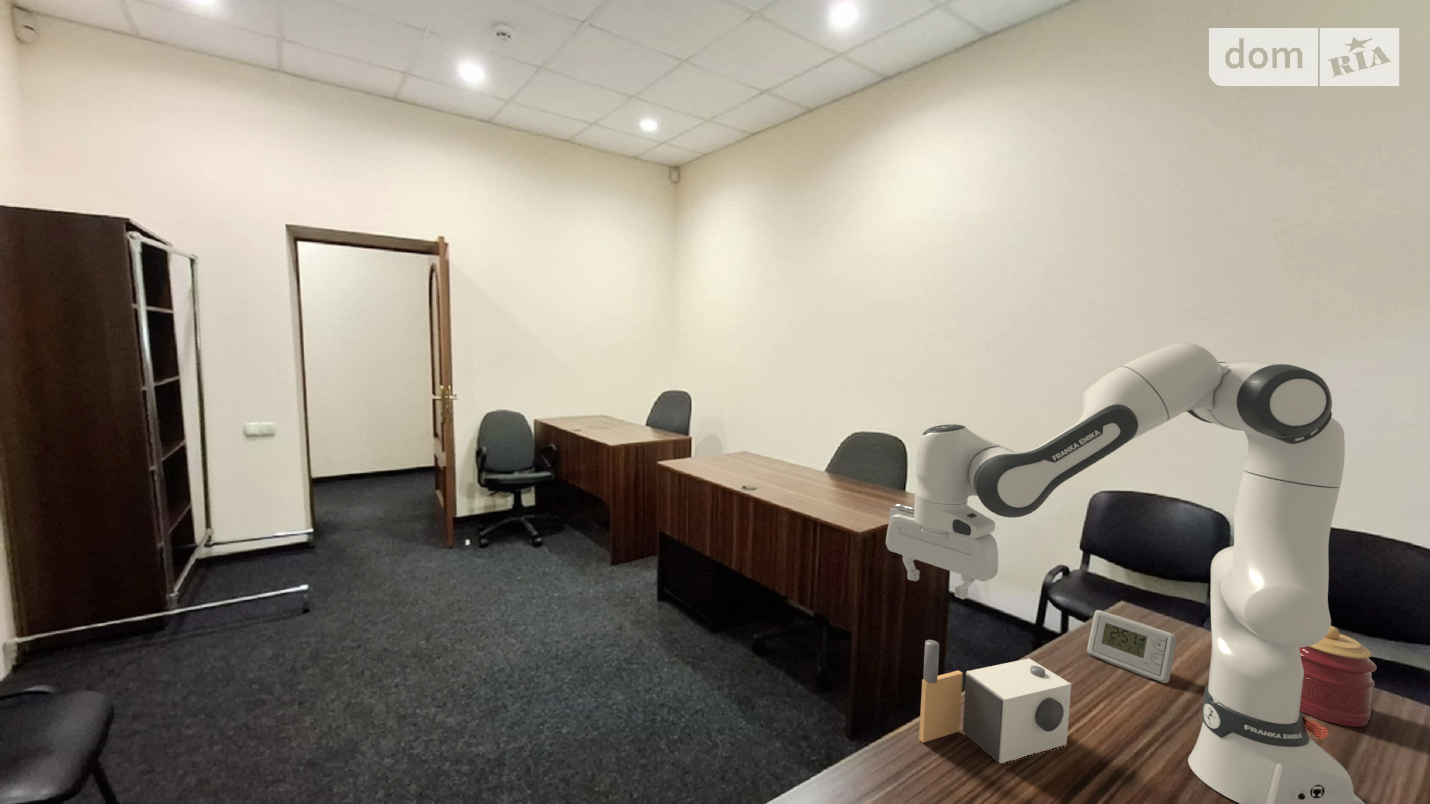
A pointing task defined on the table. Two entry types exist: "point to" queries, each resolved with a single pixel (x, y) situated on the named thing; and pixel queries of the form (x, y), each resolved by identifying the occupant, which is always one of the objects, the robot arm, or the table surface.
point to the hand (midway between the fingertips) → (936, 588)
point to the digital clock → (1132, 645)
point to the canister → (1337, 680)
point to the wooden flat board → (939, 697)
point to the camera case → (1016, 709)
